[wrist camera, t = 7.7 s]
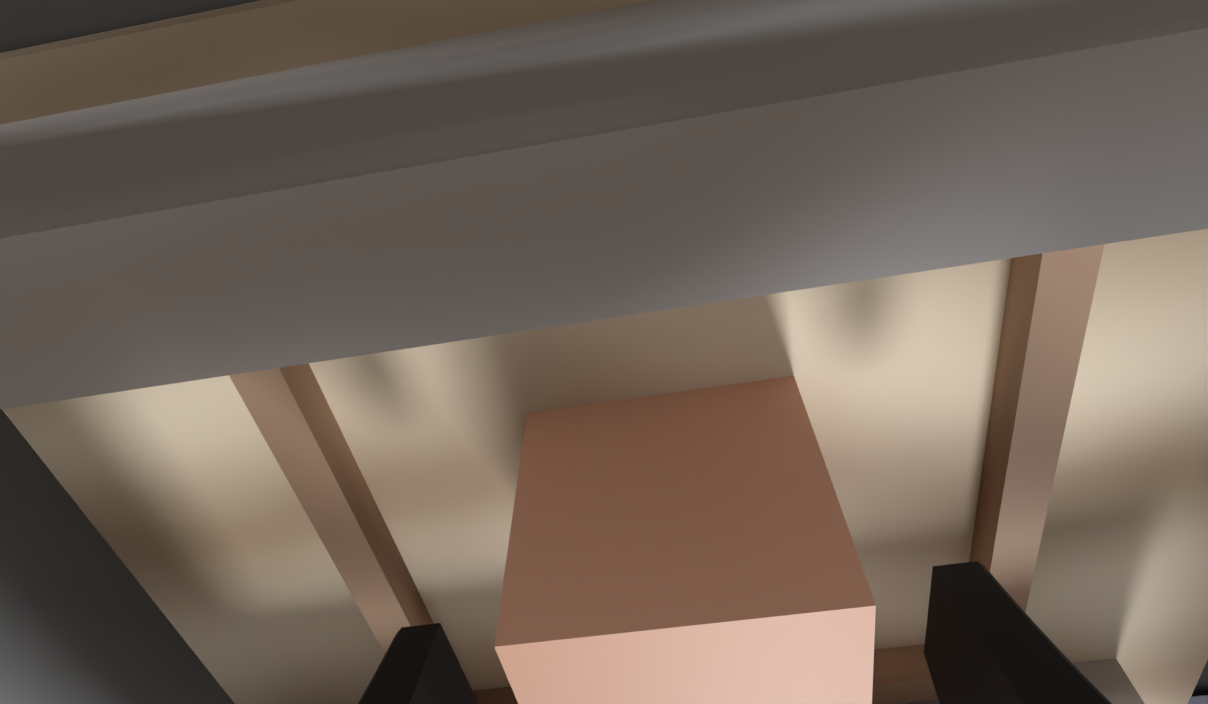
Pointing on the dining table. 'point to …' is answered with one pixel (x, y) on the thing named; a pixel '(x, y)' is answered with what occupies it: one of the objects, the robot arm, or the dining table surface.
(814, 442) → the terracotta block
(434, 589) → the beige wooden low frame
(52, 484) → the dining table surface
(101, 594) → the dining table surface
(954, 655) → the robot arm
